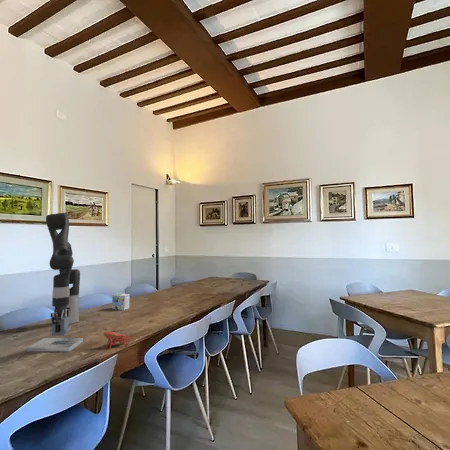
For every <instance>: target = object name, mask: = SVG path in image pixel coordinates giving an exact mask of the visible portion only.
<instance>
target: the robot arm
mask: <svg viewBox="0 0 450 450" xmlns="http://www.w3.org/2000/svg"><path fill="white" fill-rule="evenodd" d="M45 222H46V226H47V230H48V232H49V236H50V238H51V241H52V255H51V257H50V260H49V268H50V269H51V270H53V271H59V273H58V274H55V275H54V276H53V277H52V278H53V279H52V281H53V283H52V284H53V287H52V298H51V299H52V301H51V302H52V303H51V306H52V307H54V309H53V310H54V312H50V317H51V325H52V324H54V325H55V332H56V333H59V332H60V327H61V319H62V317H69V325H71V324H75V323H78V322H79V319H80V318H79V317H80V280H81V271H80V269H75V268H73V265H74V261H75V260H74V258H73V247H72V244H71V243H70V242H69V235H70V234H69V232H70V220H69V216H68V214H67V213H66V212H58V213H52V214H47V215H46V216H45ZM59 230H60V231H59ZM58 231H59V232H58ZM72 268H73V269H72ZM70 285H72V287H70ZM58 317H60V318H58ZM54 320H55V322H54ZM58 320H59V322H58Z"/></svg>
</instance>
